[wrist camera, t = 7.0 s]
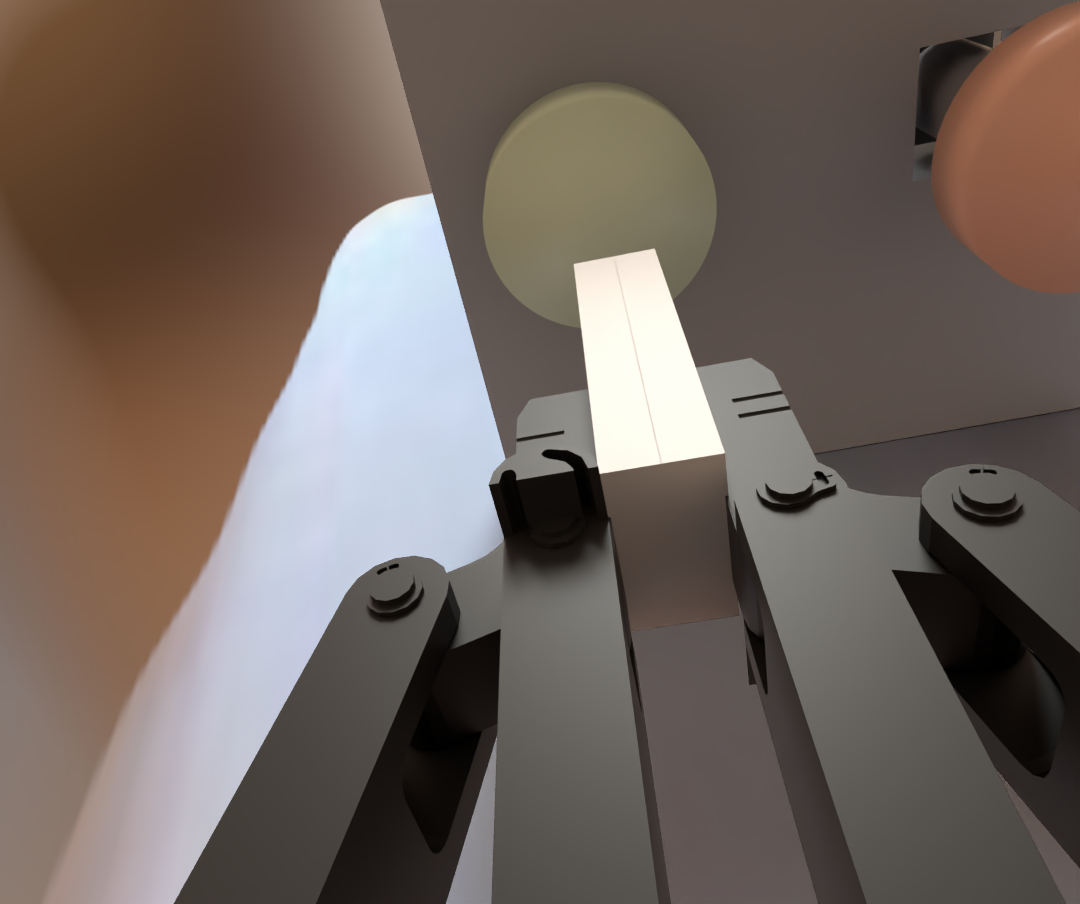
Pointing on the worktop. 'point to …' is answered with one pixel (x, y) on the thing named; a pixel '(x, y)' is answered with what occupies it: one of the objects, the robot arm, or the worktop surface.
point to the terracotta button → (1010, 147)
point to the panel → (756, 202)
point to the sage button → (594, 194)
